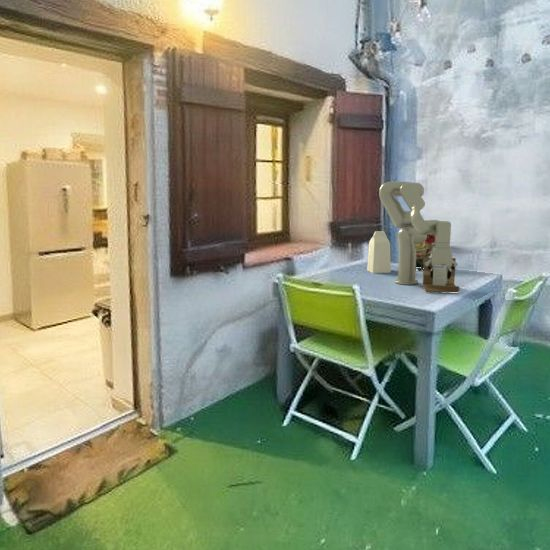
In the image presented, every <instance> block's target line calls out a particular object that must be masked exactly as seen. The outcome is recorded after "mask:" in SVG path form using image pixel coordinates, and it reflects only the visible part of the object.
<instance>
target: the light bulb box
mask: <svg viewBox="0 0 550 550" xmlns="http://www.w3.org/2000/svg"><path fill="white" fill-rule="evenodd" d="M447 276H448V265H434V268H433V285H438V286H446V284H447V280H448V278H447Z"/></svg>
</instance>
